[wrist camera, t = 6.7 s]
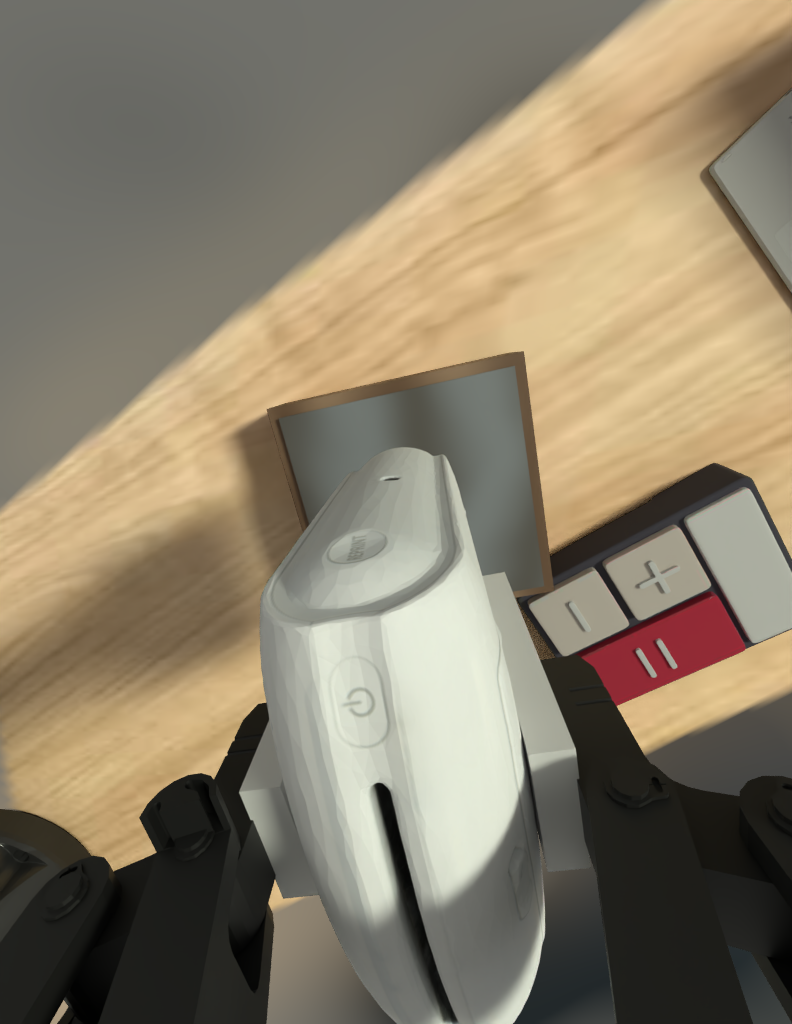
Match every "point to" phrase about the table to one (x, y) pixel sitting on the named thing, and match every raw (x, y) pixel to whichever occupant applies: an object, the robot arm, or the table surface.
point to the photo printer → (406, 746)
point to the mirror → (435, 453)
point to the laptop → (763, 183)
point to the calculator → (669, 585)
